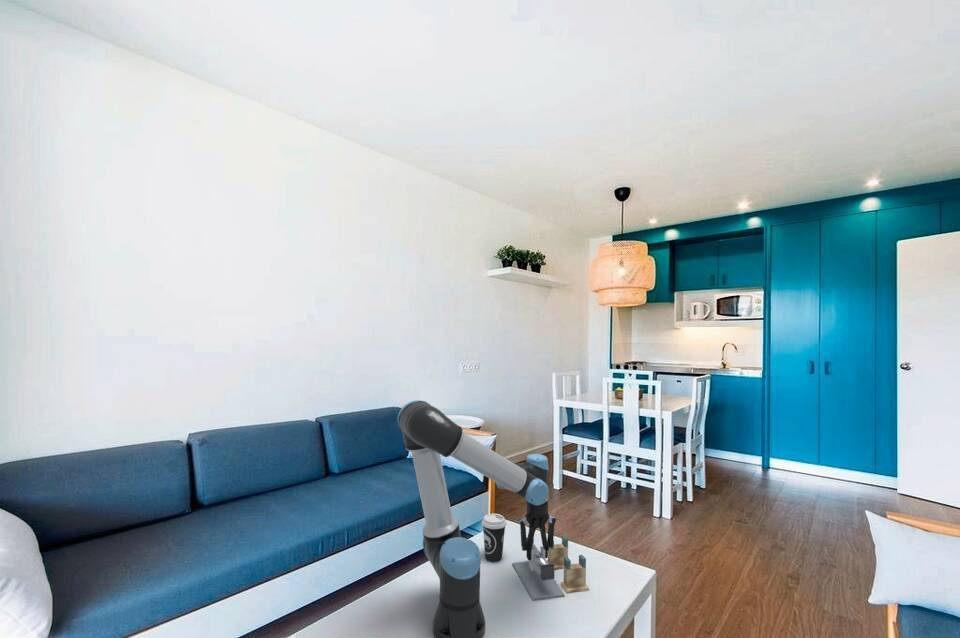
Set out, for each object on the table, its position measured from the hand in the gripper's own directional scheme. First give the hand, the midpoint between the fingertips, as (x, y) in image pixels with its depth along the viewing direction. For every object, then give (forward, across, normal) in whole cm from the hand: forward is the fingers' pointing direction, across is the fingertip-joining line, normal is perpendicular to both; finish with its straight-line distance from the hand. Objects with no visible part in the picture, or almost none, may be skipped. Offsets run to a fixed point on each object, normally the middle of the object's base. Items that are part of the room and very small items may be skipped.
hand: (537, 567), depth 148 cm
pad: (+4, 0, 0) cm, 4 cm away
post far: (+4, +11, +7) cm, 14 cm away
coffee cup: (+4, -11, +17) cm, 21 cm away
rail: (-2, 0, 0) cm, 2 cm away
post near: (+4, +11, -7) cm, 14 cm away
